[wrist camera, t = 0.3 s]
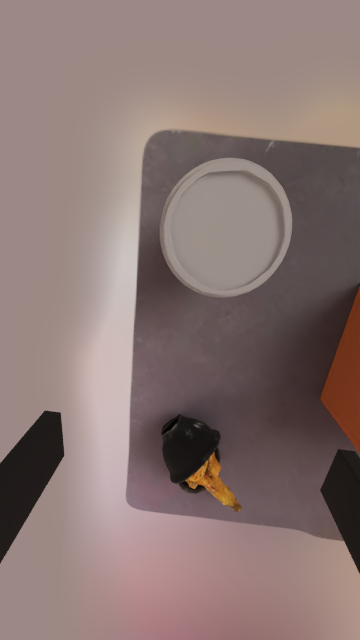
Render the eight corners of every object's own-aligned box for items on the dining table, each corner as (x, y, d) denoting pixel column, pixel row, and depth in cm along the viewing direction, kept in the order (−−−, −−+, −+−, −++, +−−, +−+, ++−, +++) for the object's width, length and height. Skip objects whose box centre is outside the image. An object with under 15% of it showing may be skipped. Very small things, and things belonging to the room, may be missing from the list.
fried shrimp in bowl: (195, 406, 31) (297, 529, 28) (190, 394, 41) (264, 482, 39) (137, 459, 29) (239, 590, 27) (148, 432, 40) (222, 524, 38)
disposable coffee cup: (274, 214, 27) (330, 200, 16) (228, 289, 30) (247, 323, 19) (198, 168, 26) (199, 119, 15) (159, 251, 29) (134, 263, 18)
